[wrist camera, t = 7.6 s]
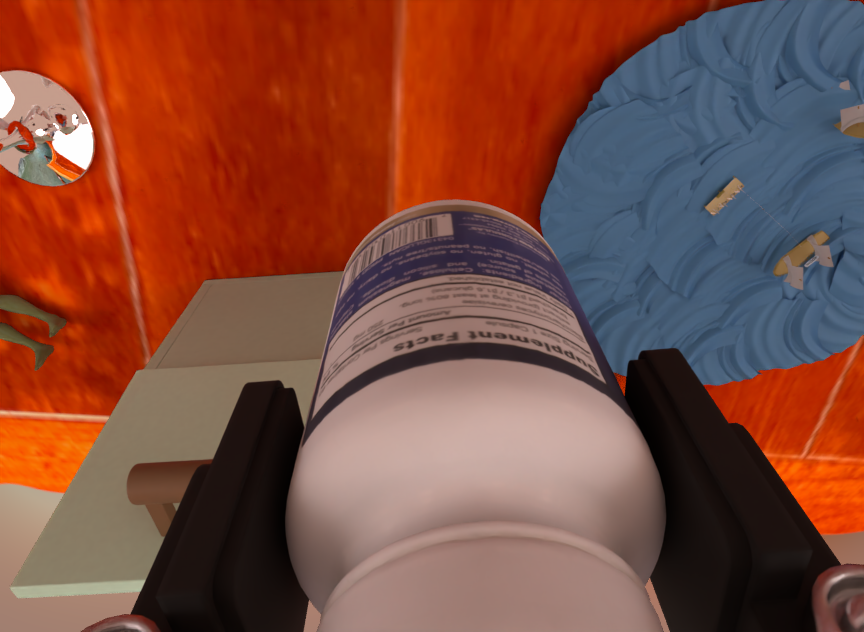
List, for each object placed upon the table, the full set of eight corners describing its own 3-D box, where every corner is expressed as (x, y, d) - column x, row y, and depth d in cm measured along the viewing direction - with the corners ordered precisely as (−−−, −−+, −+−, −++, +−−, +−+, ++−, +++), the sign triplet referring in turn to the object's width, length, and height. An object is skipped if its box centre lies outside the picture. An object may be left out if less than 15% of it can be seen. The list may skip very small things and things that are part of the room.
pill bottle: (527, 406, 16) (642, 889, 8) (325, 372, 16) (212, 860, 7) (597, 219, 14) (891, 643, 5) (358, 169, 13) (242, 560, 4)
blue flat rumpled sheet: (770, 419, 55) (800, 462, 50) (468, 313, 48) (472, 351, 44) (1063, 110, 40) (1141, 131, 36) (687, -101, 34) (725, -105, 29)
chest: (422, 400, 52) (422, 506, 42) (241, 410, 52) (197, 519, 42) (410, 266, 45) (407, 353, 35) (204, 279, 46) (142, 370, 36)
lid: (403, 578, 24) (391, 504, 21) (16, 599, 24) (-42, 529, 22) (407, 363, 35) (400, 297, 32) (141, 379, 35) (112, 315, 33)
